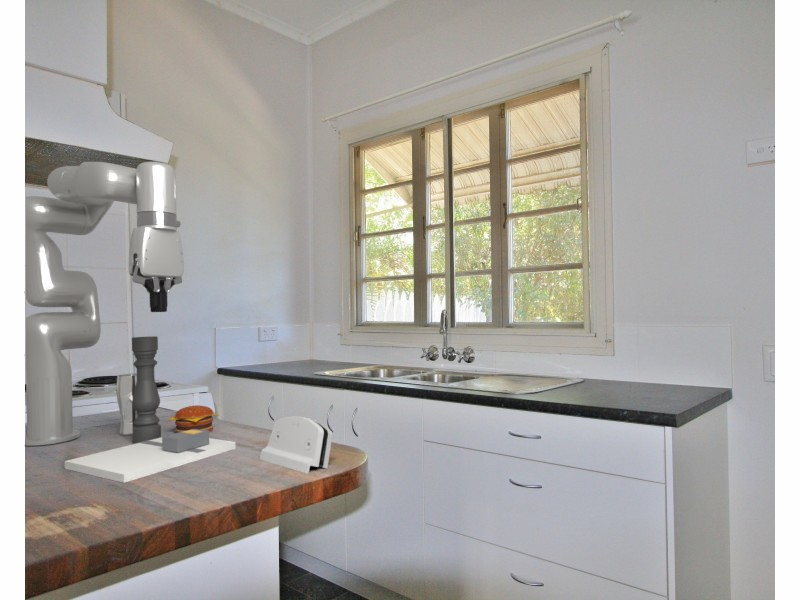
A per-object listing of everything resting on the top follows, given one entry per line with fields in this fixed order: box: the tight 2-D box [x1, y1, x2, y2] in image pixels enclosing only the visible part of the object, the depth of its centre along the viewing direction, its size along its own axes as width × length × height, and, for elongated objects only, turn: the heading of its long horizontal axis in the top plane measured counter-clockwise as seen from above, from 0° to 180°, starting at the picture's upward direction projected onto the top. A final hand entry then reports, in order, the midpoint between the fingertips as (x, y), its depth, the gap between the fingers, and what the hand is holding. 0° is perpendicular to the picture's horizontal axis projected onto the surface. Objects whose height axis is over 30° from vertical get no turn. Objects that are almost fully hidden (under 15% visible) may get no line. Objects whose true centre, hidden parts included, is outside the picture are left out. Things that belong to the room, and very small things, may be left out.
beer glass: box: [116, 372, 138, 436], centre depth 139 cm, size 7×7×15 cm
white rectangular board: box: [64, 436, 236, 484], centre depth 114 cm, size 20×26×2 cm
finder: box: [161, 429, 210, 453], centre depth 116 cm, size 5×8×3 cm, turn 149°
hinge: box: [259, 415, 333, 475], centre depth 108 cm, size 17×5×10 cm, turn 47°
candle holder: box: [131, 335, 162, 444], centre depth 130 cm, size 6×6×25 cm
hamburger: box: [168, 404, 220, 433], centre depth 139 cm, size 9×10×7 cm
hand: (158, 311), depth 111 cm, fingers closed
